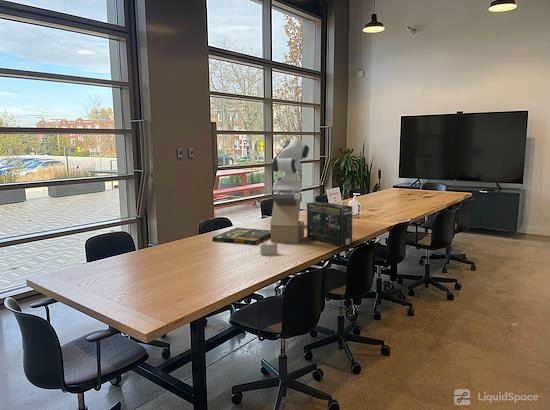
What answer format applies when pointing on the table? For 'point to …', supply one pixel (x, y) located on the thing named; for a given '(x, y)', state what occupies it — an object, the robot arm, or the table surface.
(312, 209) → the router box
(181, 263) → the table surface
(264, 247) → the model
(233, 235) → the pizza box
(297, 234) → the carton
